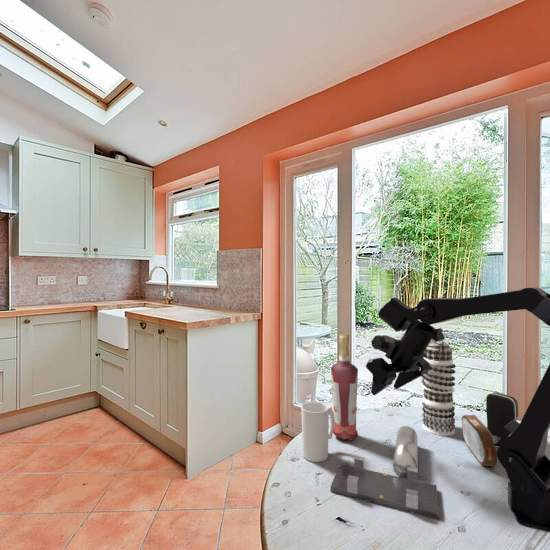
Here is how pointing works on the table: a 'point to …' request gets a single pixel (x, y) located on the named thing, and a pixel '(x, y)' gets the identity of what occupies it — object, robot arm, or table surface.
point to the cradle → (387, 488)
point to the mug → (316, 430)
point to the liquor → (344, 393)
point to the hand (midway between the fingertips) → (384, 390)
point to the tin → (479, 440)
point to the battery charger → (500, 412)
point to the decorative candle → (439, 390)
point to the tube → (405, 451)
